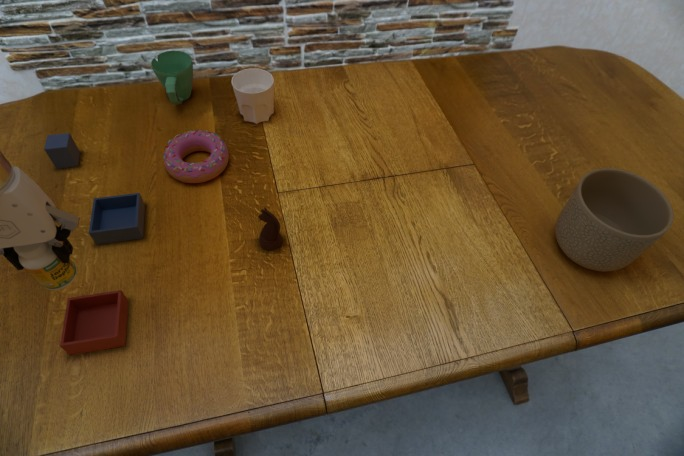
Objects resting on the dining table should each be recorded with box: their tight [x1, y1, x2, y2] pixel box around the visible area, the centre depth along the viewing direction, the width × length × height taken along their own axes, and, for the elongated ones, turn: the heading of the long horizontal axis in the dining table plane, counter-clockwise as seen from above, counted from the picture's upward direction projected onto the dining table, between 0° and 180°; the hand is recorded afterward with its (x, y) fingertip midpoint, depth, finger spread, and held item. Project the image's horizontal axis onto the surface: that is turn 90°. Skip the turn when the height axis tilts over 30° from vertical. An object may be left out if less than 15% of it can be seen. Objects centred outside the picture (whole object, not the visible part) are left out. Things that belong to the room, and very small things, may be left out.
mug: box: [150, 49, 194, 105], centre depth 116 cm, size 15×10×10 cm
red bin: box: [59, 289, 130, 356], centre depth 80 cm, size 9×9×4 cm
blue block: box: [43, 132, 81, 169], centre depth 103 cm, size 5×5×6 cm
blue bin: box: [88, 192, 146, 246], centre depth 94 cm, size 9×9×4 cm
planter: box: [554, 167, 675, 273], centre depth 91 cm, size 17×17×15 cm
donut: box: [162, 129, 230, 184], centre depth 105 cm, size 14×14×5 cm
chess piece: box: [257, 207, 283, 251], centre depth 91 cm, size 5×5×10 cm
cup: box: [230, 67, 275, 125], centre depth 115 cm, size 10×10×10 cm
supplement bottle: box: [14, 241, 78, 291], centre depth 68 cm, size 5×5×10 cm
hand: (45, 257), depth 68 cm, fingers closed on supplement bottle, 5 cm apart
